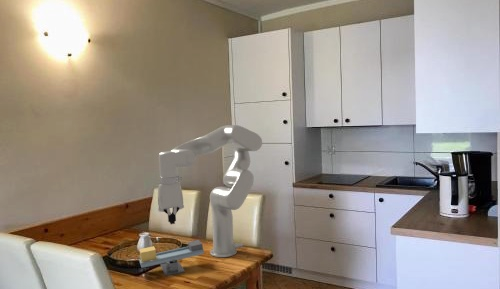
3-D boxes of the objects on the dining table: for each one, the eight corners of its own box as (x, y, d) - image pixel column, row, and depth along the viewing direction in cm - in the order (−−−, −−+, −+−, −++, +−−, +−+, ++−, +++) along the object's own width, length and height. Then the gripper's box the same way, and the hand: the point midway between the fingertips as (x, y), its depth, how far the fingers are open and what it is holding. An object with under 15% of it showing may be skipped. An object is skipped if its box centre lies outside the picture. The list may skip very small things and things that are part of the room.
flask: (151, 261, 175) (150, 239, 175) (136, 260, 177) (135, 238, 176) (158, 255, 182) (157, 234, 182) (144, 254, 184) (143, 234, 183)
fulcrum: (178, 263, 172) (178, 253, 172) (184, 272, 161) (184, 262, 160) (160, 265, 169) (160, 256, 169) (165, 275, 158) (164, 265, 158)
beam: (199, 249, 174) (198, 238, 173) (204, 255, 165) (203, 244, 165) (139, 262, 164) (138, 251, 164) (141, 269, 156) (140, 258, 155)
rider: (155, 256, 164) (153, 246, 164) (156, 260, 160) (155, 249, 159) (140, 259, 162) (139, 249, 162) (141, 263, 158) (140, 252, 157)
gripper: (185, 177, 169) (187, 218, 170) (150, 181, 164) (153, 223, 165) (188, 180, 162) (191, 222, 163) (152, 184, 157) (155, 228, 158)
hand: (172, 223), depth 164 cm, fingers closed
